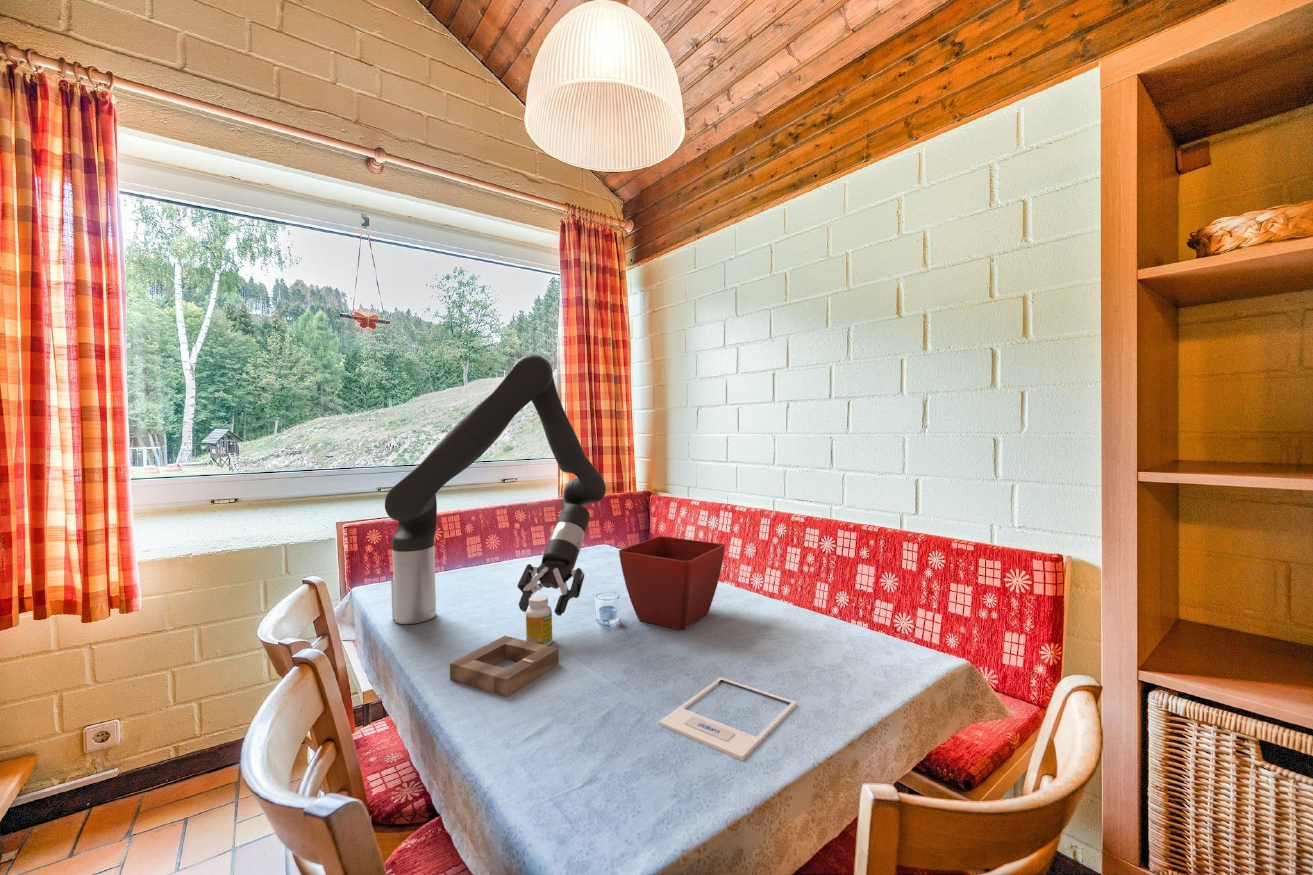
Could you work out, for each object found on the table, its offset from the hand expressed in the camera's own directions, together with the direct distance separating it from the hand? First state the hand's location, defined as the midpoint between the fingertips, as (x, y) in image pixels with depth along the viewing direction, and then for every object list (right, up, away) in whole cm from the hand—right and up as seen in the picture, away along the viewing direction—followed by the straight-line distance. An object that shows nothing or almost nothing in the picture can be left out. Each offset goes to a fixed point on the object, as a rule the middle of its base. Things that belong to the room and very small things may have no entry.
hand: (539, 612), depth 115 cm
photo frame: (+37, -8, -29) cm, 47 cm away
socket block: (-4, -7, -13) cm, 15 cm away
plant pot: (+29, -6, +14) cm, 33 cm away
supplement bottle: (0, -7, 0) cm, 7 cm away
